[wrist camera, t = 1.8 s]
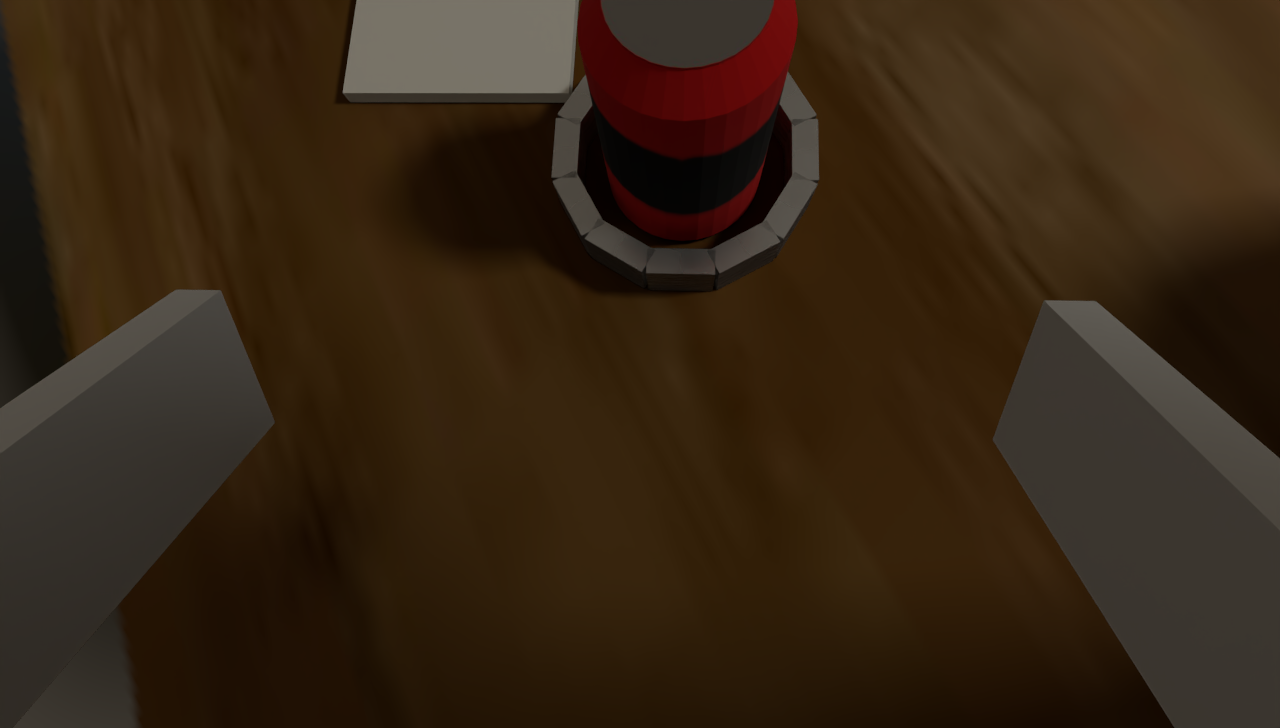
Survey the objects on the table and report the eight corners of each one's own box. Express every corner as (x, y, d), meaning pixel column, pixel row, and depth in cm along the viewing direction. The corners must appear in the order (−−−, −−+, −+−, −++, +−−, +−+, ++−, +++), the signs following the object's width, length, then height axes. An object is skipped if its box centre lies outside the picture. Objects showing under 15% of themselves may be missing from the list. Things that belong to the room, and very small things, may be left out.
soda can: (647, 86, 34) (630, -134, 22) (782, 137, 33) (841, -65, 21) (584, 210, 32) (531, 47, 21) (723, 267, 31) (749, 129, 20)
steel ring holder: (806, 64, 33) (816, 32, 31) (809, 293, 31) (820, 276, 28) (570, 65, 34) (562, 33, 32) (554, 288, 32) (544, 271, 29)
